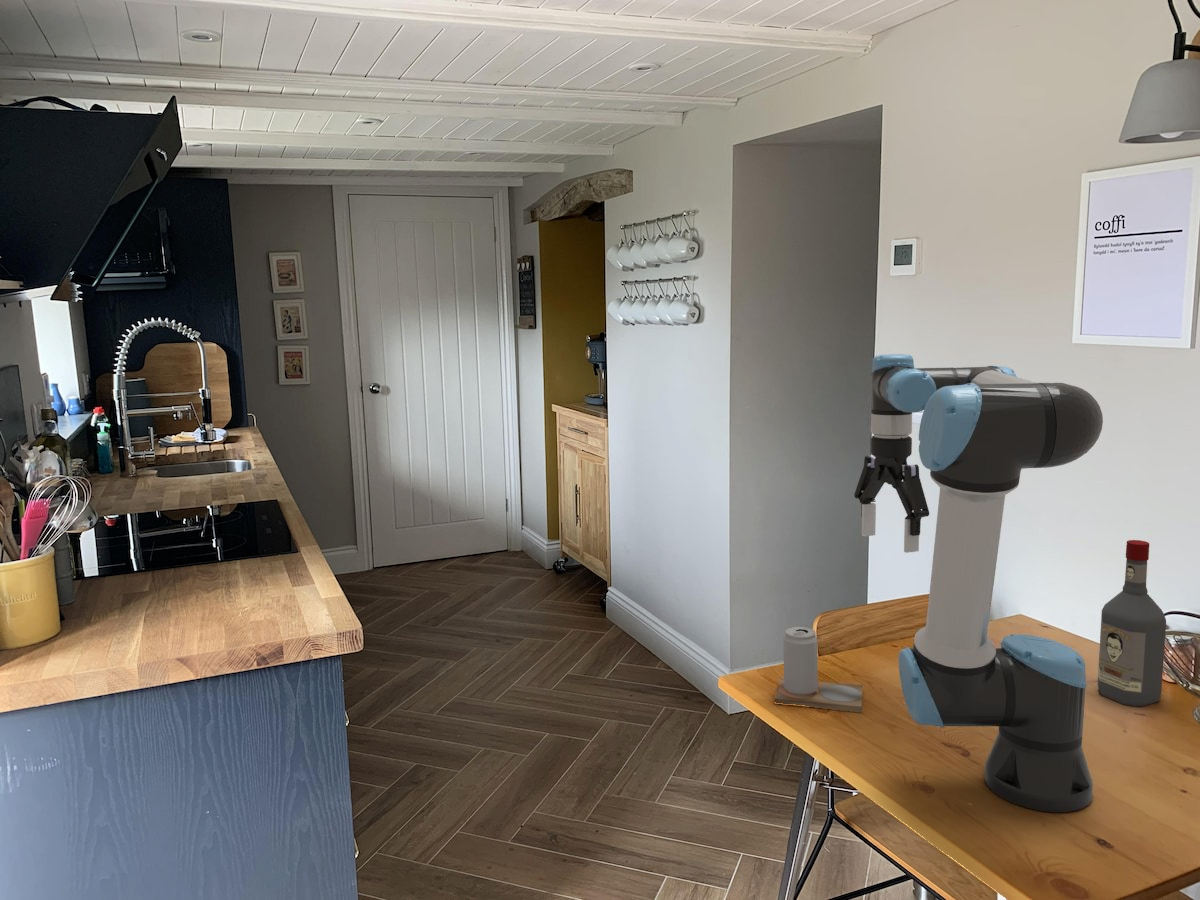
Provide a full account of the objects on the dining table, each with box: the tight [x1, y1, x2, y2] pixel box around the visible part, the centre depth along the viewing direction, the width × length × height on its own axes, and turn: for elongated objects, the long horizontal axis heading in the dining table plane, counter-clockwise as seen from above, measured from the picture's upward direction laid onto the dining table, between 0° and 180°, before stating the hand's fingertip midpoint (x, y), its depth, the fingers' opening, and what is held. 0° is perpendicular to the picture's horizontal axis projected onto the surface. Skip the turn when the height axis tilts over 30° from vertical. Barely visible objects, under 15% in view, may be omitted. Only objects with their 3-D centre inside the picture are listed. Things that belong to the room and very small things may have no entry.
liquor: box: [1097, 539, 1167, 708], centre depth 171 cm, size 9×9×30 cm
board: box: [774, 677, 864, 714], centre depth 176 cm, size 10×16×1 cm, turn 73°
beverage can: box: [783, 626, 819, 696], centre depth 176 cm, size 6×6×12 cm
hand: (889, 543), depth 178 cm, fingers open, 13 cm apart
